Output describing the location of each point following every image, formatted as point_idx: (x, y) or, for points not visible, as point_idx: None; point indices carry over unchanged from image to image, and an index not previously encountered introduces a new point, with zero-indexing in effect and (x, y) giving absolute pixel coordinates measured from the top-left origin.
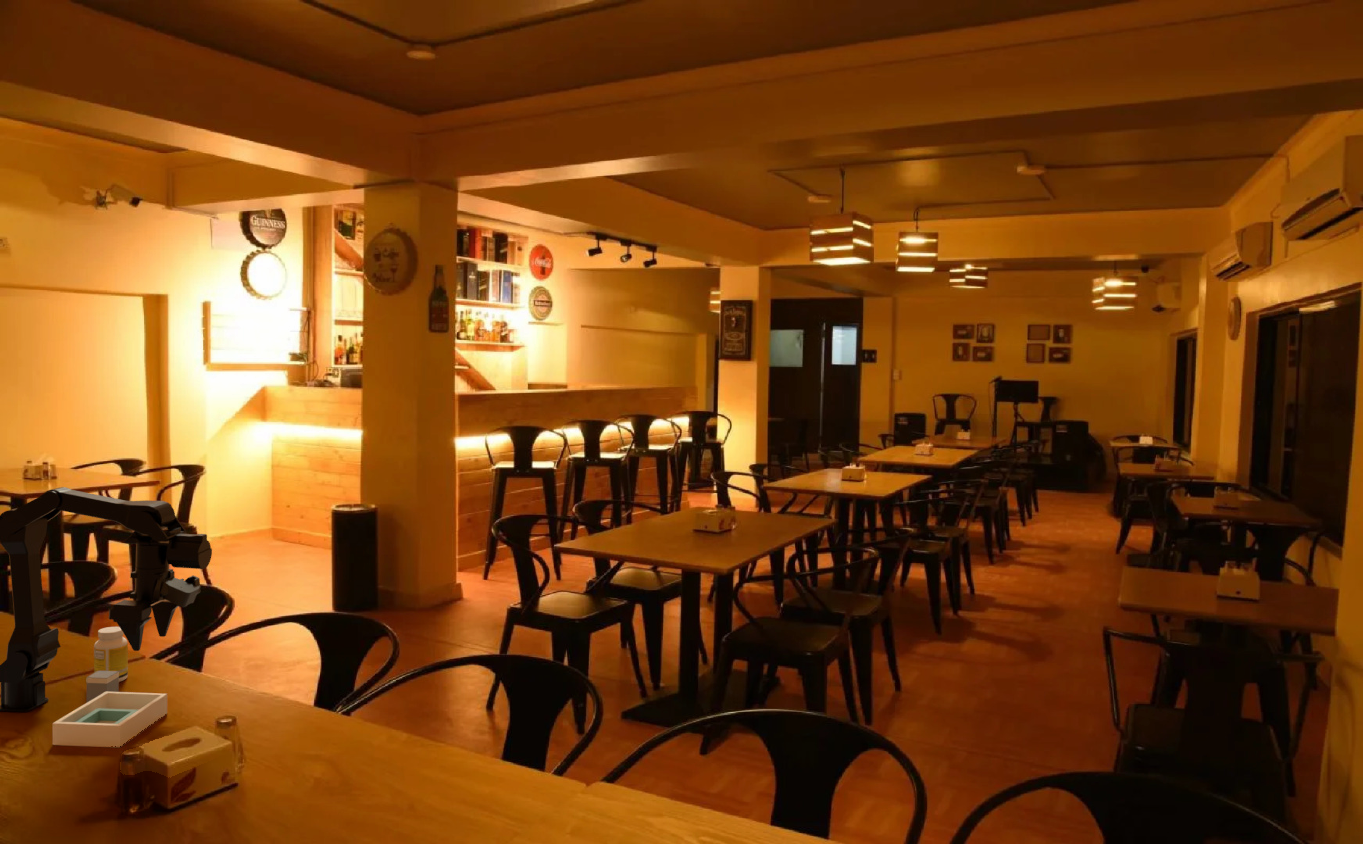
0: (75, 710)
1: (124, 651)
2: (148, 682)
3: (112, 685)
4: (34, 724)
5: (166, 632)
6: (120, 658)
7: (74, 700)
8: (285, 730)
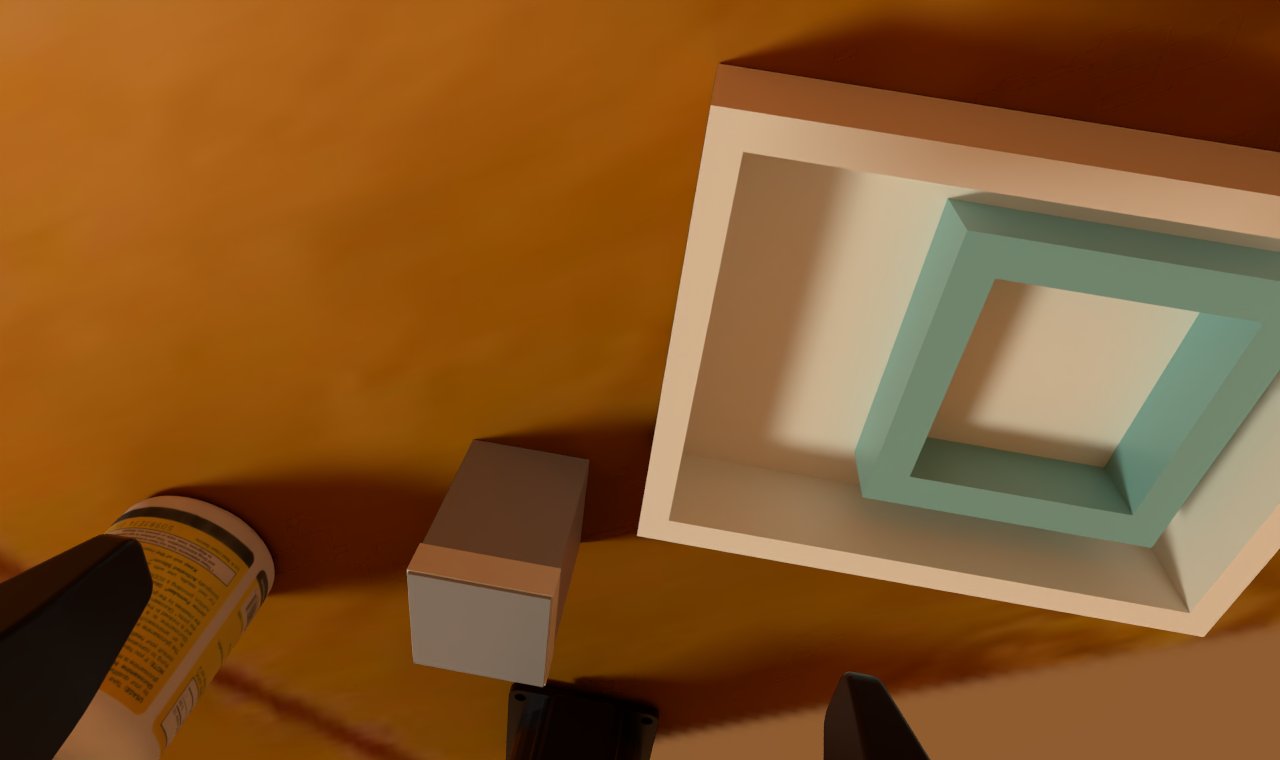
0: (988, 592)
1: None
2: (175, 379)
3: (503, 530)
4: (806, 656)
5: (59, 567)
6: None
7: None
8: None
